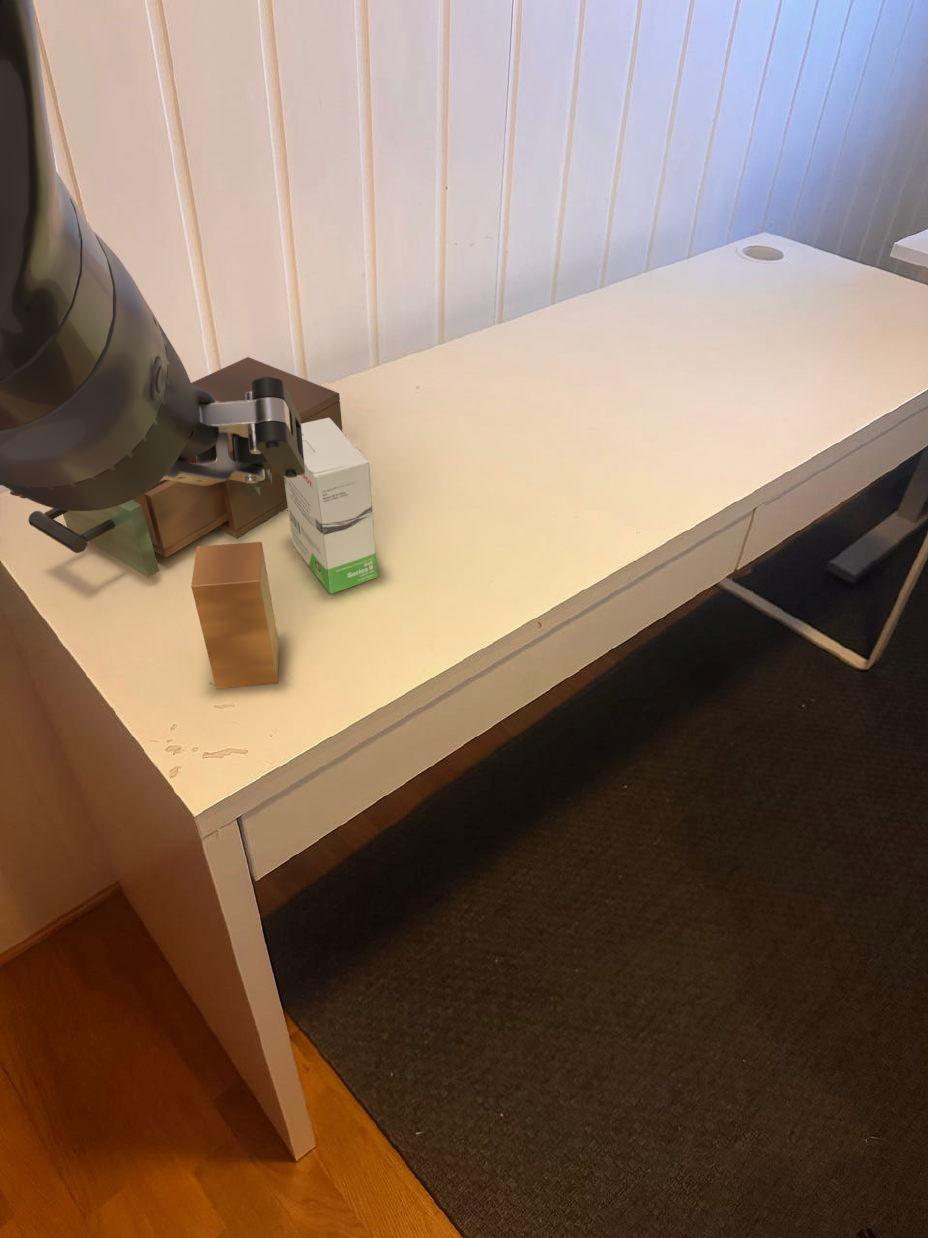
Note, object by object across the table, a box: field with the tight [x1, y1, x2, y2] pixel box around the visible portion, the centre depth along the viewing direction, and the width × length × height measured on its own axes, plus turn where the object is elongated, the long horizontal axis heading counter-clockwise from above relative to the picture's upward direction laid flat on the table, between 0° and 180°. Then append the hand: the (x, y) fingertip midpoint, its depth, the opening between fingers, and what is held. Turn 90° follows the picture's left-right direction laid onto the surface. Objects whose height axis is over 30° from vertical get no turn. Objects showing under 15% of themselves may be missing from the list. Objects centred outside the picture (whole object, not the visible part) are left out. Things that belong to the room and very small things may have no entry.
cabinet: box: [191, 356, 344, 539], centre depth 86 cm, size 15×13×9 cm
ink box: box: [284, 418, 379, 594], centre depth 75 cm, size 9×5×12 cm, turn 30°
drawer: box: [27, 456, 228, 578], centre depth 79 cm, size 18×11×7 cm, turn 143°
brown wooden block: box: [190, 541, 280, 690], centre depth 66 cm, size 5×5×10 cm
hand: (161, 481), depth 43 cm, fingers open, 8 cm apart
